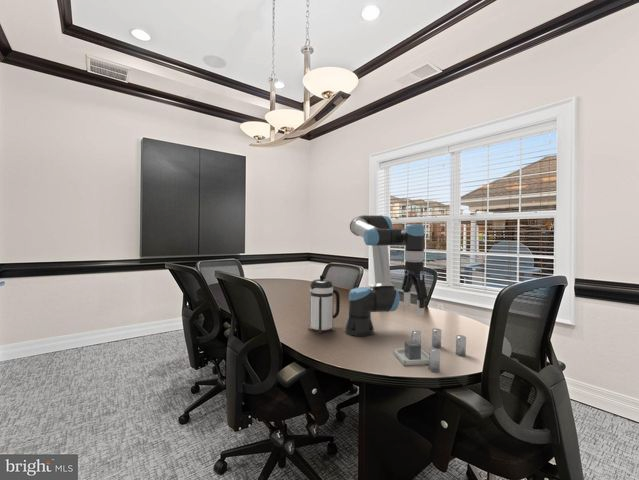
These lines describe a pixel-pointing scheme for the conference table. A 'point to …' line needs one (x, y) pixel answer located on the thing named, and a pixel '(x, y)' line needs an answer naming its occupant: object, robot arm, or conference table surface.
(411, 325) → the conference table surface
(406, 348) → the slate cube
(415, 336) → the spacer
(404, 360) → the tray
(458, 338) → the cylinder
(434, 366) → the cylinder
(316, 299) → the coffee press
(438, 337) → the cylinder
